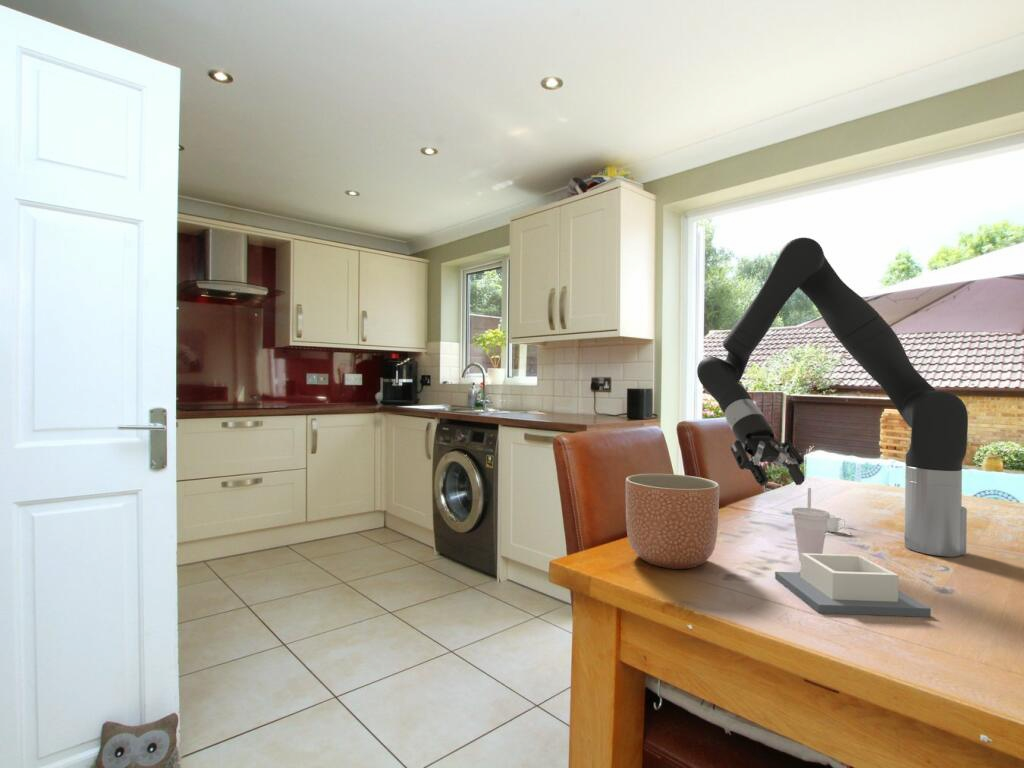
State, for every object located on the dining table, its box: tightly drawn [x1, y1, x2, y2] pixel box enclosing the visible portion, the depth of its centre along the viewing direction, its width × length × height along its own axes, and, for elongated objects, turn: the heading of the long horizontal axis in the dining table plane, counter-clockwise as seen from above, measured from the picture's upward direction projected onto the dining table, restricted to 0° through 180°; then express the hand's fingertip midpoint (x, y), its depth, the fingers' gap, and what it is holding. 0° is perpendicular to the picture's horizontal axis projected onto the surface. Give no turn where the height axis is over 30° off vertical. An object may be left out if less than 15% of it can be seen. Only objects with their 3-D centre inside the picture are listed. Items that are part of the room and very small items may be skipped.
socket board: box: [774, 553, 932, 618], centre depth 84 cm, size 16×14×5 cm
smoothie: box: [791, 487, 831, 563], centre depth 101 cm, size 6×6×14 cm
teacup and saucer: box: [826, 514, 846, 533], centre depth 124 cm, size 9×8×4 cm
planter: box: [625, 473, 720, 570], centre depth 100 cm, size 17×17×15 cm
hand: (783, 483), depth 108 cm, fingers open, 8 cm apart
